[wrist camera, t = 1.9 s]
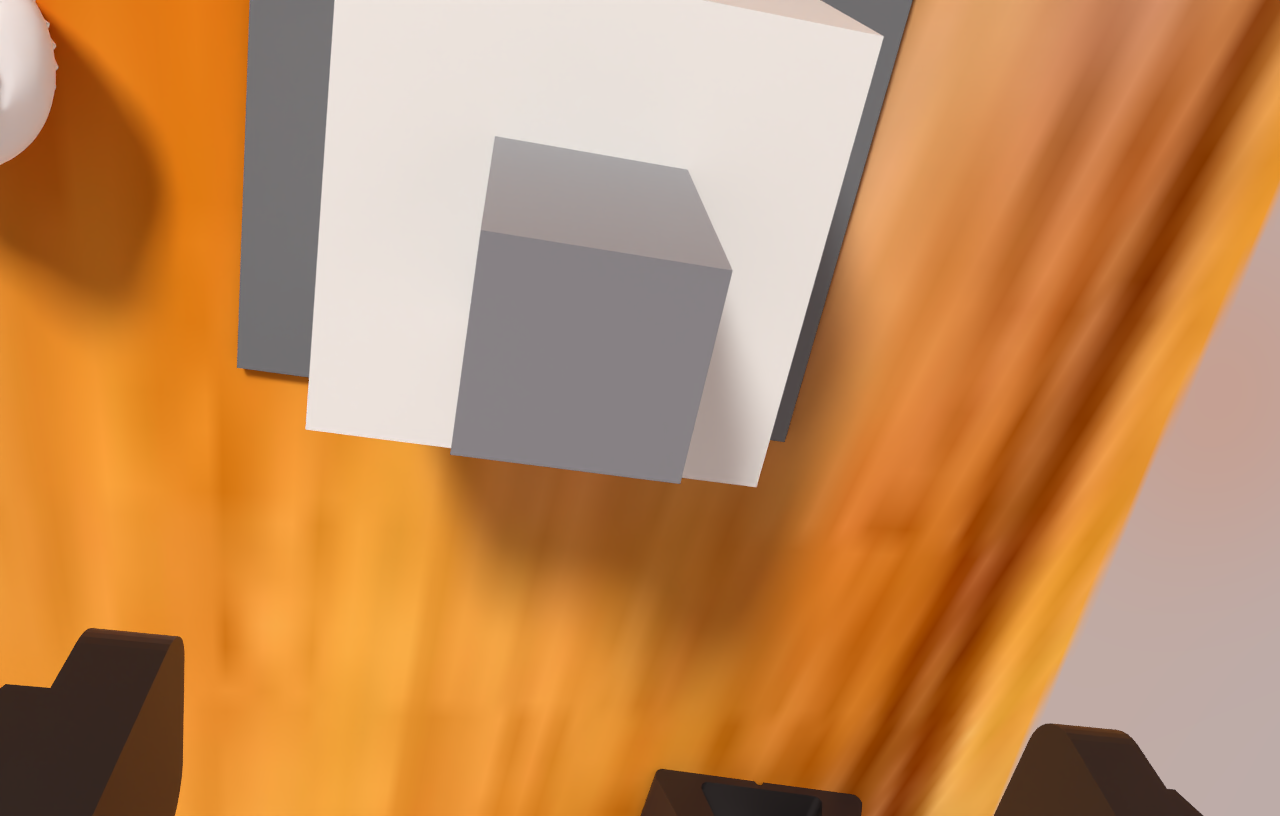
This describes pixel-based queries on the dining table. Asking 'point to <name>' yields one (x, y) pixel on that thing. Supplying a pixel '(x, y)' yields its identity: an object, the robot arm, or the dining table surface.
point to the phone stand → (740, 798)
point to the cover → (578, 224)
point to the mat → (293, 171)
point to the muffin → (24, 75)
